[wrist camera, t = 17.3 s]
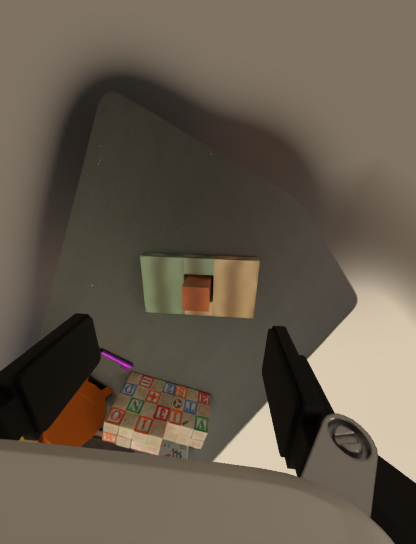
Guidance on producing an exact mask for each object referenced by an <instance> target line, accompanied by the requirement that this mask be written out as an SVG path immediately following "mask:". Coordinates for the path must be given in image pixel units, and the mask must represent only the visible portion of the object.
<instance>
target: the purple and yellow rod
mask: <svg viewBox="0 0 416 544" xmlns="http://www.w3.org/2000/svg"><path fill="white" fill-rule="evenodd" d="M100 354H101V355H103V356H105V357H107V358H109V359H111V360H113V361H115V362H117V363H119V364H121V368H123V369H125V370H128V369H131V368H132V367H133V366H132V364H131V363H129V362H127V361H125V360H122V359H120V358H118V357H116V356H114V355H112V354H110V353H108V352H106V351H104V350H101V349H100Z"/></svg>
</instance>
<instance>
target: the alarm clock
mask: <svg viewBox="0 0 416 544" xmlns="http://www.w3.org/2000/svg"><path fill="white" fill-rule="evenodd" d="M88 379H89V377H88V378H87V379H86V381H85V382H84V383H83V384H82V386H81V387H80V388H79V390H78V391H77V392H76V394H75V395H74V396H73V398H72V399H71V400H70V401H69V403H68V404H67V405H66V407H65V408H64V409H63V411H62V412H61V413H60V415H59V416H58V417H57V419H56V420H55V421H54V422H53V424H52V425H51V426H50V428H49V429H48V430H46V431H45V432H43V433H42V435H41V436H40V437H39V438H38V440H37V441H33V440H24V438H23V436H22V437H21V439H20V440H19V441H27V442H37V443H46V444H56V445H66V446H75V447H81V446H82V445H83V444H85V443H86V442H87V441H88V440H89V439H91V438H92V437H93V436H94V435H95V434H96V433H97V431H98V430H99V428H100V427H101V426H102V423H103V421H104V418H105V415H106V401H105V398H106V397H108V396H109V395H110V394H111V393H112V392H113V390H112V389H110V388H109V387H106V388H104V389H103V390H100V389H99V388H98V387H97V386H96V385H94V384H92V383H90V382H88Z"/></svg>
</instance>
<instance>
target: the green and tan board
mask: <svg viewBox="0 0 416 544" xmlns="http://www.w3.org/2000/svg"><path fill="white" fill-rule="evenodd" d="M140 261H141V271H142V280H143V290H144V299H145V309H146V312H156V313H172V314H190V315H207V316H222V317H239V318H253V315H254V307H255V298H256V290H257V282H258V274H259V265H260V260H259V259H258V257H237V256H212V255H188V254H164V253H144V254H142V255H141V256H140ZM186 274H193V275H214V279H213V296H211V298H210V305H209V312H203V311H186V310H183V306H182V286H183V284H184V282H185V279H186Z"/></svg>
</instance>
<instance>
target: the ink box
mask: <svg viewBox="0 0 416 544" xmlns="http://www.w3.org/2000/svg"><path fill="white" fill-rule="evenodd" d="M188 452H189V446H186V445H183V444H179V443H175V442H172V441H169V440H165V439H163V440H162V444H161V447H160V451H159V454H158V455H157V456H166V457H174V458H183V459H188Z"/></svg>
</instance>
